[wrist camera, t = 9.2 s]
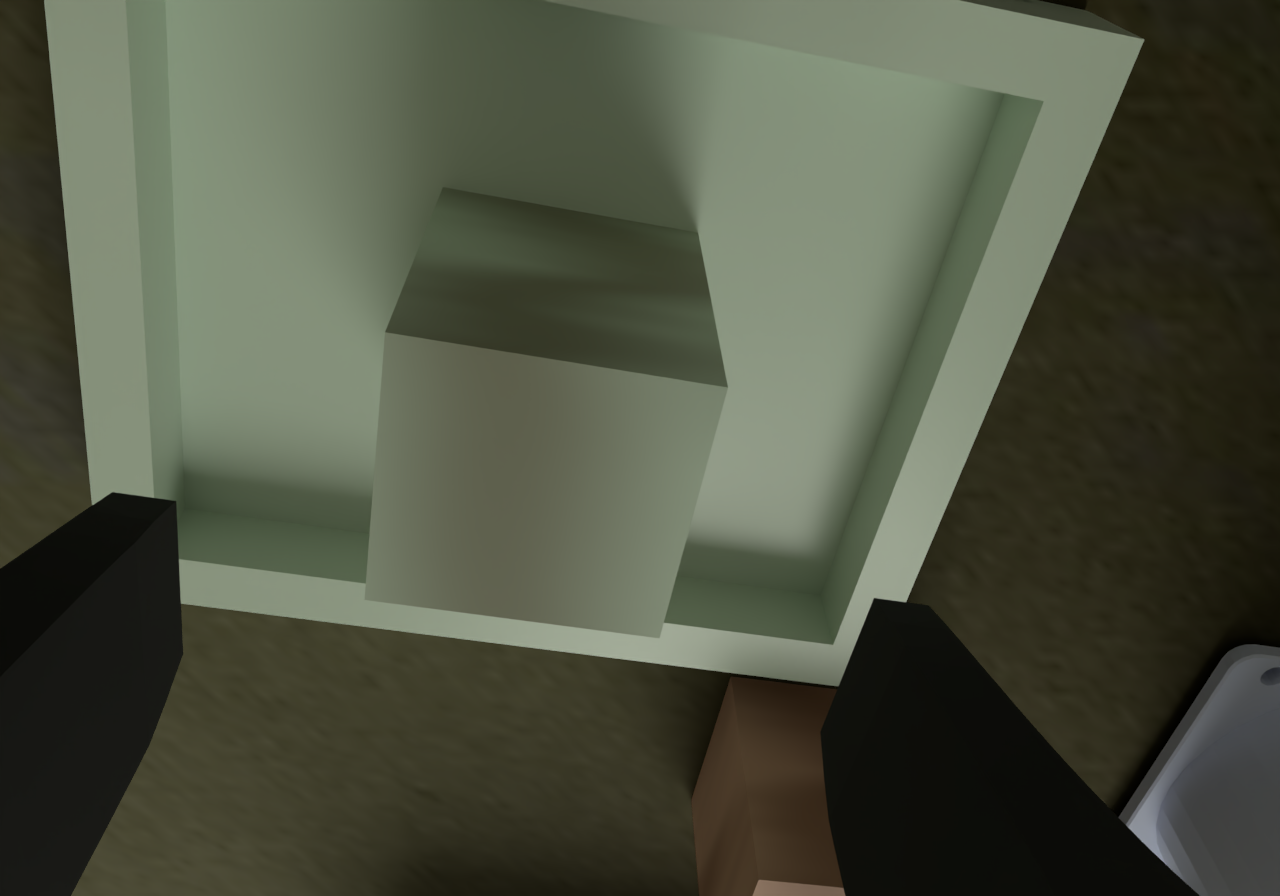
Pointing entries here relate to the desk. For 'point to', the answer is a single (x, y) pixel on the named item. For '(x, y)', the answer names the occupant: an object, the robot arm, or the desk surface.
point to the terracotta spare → (765, 795)
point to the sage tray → (586, 182)
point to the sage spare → (543, 416)
